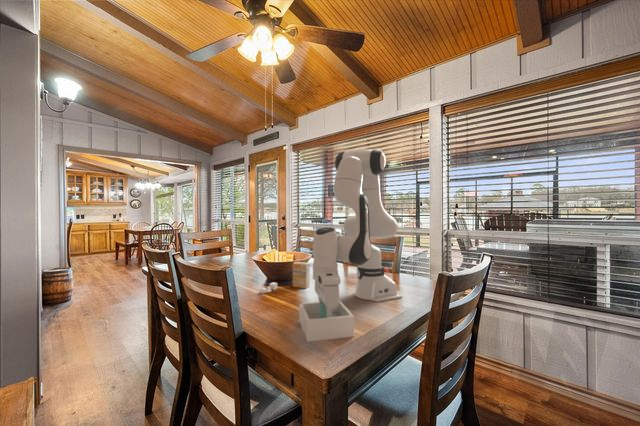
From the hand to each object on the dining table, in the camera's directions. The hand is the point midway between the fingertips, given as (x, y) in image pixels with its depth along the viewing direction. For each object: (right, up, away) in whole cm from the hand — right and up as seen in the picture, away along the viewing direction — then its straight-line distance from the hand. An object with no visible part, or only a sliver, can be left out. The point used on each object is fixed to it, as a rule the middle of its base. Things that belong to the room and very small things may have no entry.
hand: (325, 312), depth 103 cm
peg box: (0, -6, 0) cm, 6 cm away
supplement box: (-12, -5, +52) cm, 53 cm away
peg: (0, -6, 0) cm, 6 cm away
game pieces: (-28, -5, +45) cm, 53 cm away
